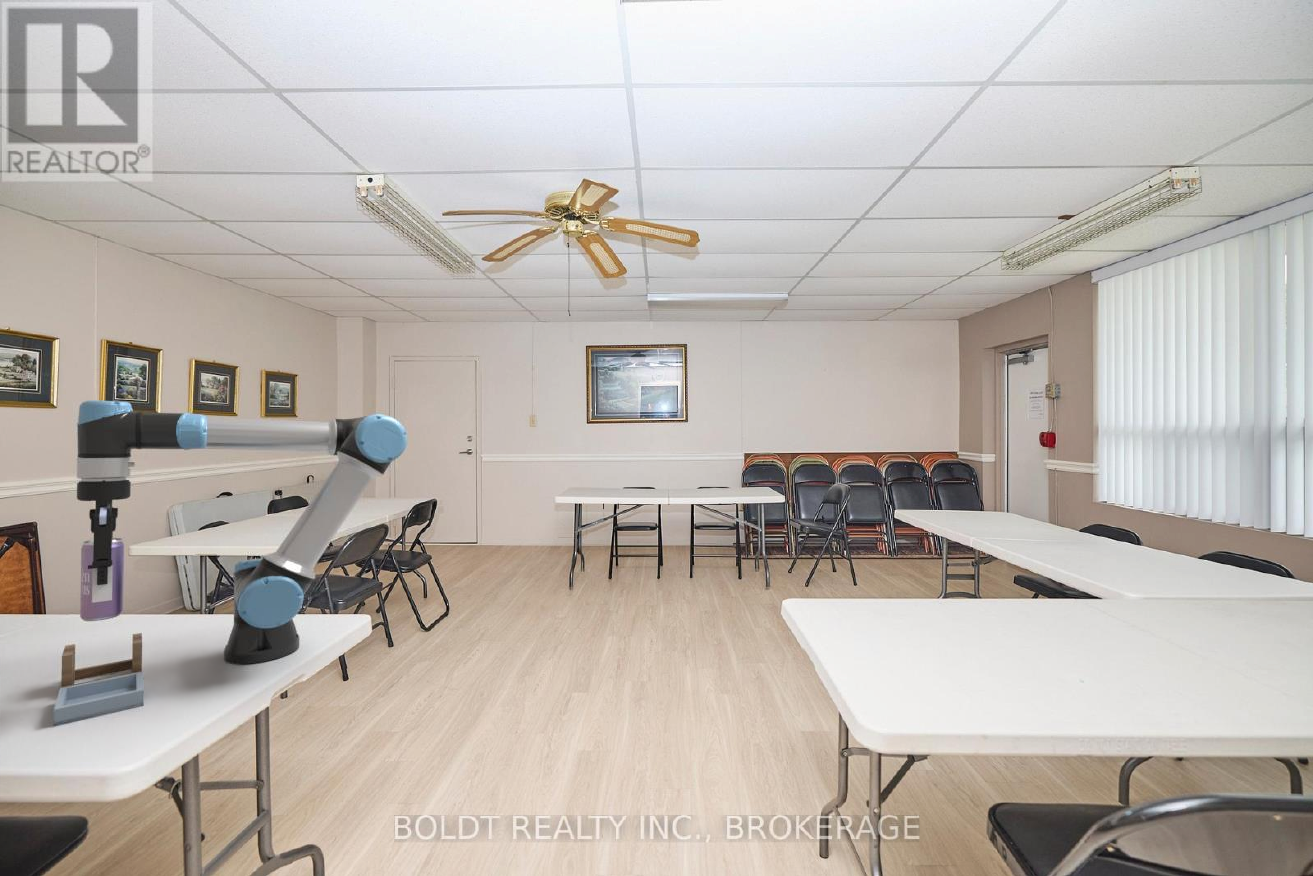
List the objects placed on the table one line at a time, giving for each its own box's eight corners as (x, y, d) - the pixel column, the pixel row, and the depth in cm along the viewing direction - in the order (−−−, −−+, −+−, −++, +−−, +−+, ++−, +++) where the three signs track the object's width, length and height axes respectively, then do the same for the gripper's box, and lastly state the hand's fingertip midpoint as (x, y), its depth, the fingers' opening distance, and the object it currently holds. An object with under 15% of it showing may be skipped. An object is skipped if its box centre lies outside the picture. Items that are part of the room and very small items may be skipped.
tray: (143, 705, 110) (143, 690, 110) (53, 726, 102) (53, 709, 102) (142, 685, 119) (142, 671, 119) (59, 703, 110) (59, 688, 110)
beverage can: (130, 614, 112) (131, 539, 112) (91, 623, 106) (93, 544, 106) (111, 611, 114) (112, 537, 114) (72, 620, 108) (74, 542, 108)
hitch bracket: (141, 681, 120) (142, 644, 121) (60, 699, 112) (61, 658, 112) (141, 666, 129) (141, 631, 129) (65, 681, 121) (65, 643, 121)
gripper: (130, 481, 106) (128, 604, 106) (130, 476, 120) (129, 585, 120) (73, 483, 101) (71, 612, 101) (80, 477, 115) (78, 591, 115)
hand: (102, 597), depth 110 cm, fingers closed on beverage can, 6 cm apart
